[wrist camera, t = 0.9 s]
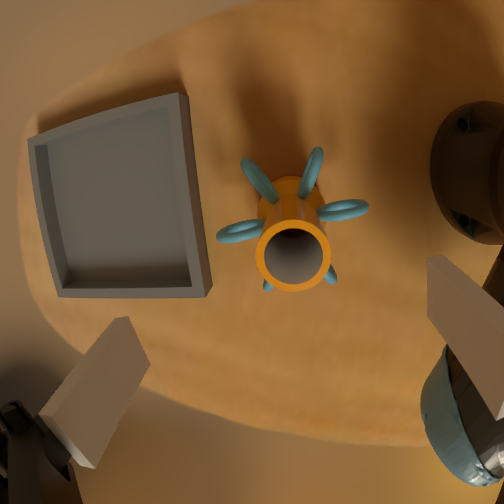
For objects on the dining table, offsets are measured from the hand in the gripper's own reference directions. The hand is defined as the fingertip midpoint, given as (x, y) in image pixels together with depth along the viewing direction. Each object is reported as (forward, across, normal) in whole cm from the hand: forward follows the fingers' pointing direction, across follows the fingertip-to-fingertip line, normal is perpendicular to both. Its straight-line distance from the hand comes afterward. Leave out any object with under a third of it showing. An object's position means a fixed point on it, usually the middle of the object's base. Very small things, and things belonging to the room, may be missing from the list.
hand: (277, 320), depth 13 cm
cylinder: (+20, -1, -1) cm, 20 cm away
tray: (+21, +17, -5) cm, 27 cm away
